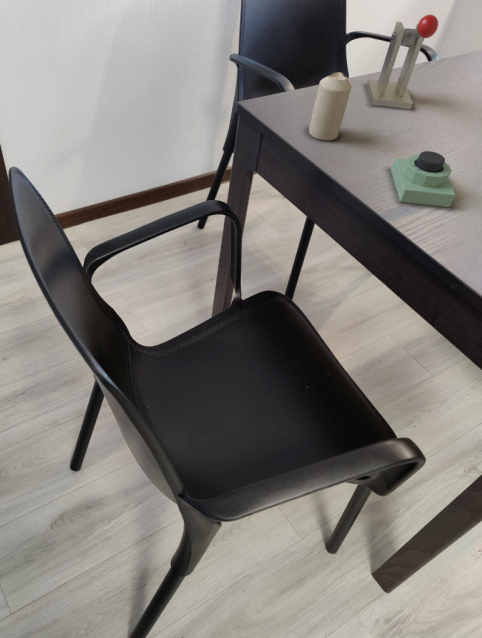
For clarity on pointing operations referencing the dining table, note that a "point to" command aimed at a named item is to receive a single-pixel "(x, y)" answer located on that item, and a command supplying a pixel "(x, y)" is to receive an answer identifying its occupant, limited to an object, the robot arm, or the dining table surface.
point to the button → (430, 162)
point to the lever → (420, 30)
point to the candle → (330, 106)
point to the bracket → (397, 92)
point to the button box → (422, 183)
